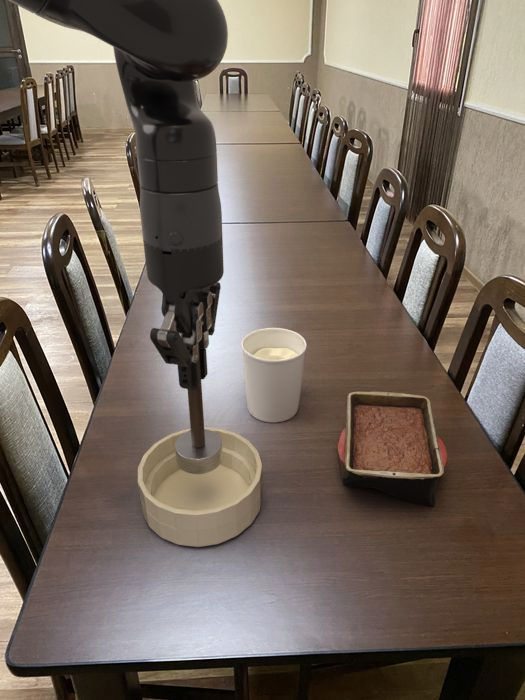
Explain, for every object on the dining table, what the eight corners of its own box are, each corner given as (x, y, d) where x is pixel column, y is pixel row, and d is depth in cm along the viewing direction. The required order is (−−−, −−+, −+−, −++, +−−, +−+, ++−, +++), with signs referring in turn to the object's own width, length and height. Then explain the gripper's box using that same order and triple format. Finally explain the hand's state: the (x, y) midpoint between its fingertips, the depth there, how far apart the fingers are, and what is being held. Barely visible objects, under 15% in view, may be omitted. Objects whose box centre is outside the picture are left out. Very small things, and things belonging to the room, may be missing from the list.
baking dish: (325, 510, 71) (335, 463, 64) (342, 413, 84) (352, 366, 78) (436, 536, 69) (458, 490, 62) (435, 432, 82) (453, 386, 76)
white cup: (237, 422, 83) (235, 357, 77) (248, 386, 92) (247, 325, 85) (300, 429, 82) (303, 363, 76) (305, 392, 90) (309, 330, 84)
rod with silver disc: (186, 480, 63) (176, 362, 54) (169, 452, 67) (157, 337, 58) (230, 464, 65) (226, 348, 56) (211, 438, 69) (204, 326, 61)
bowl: (167, 569, 61) (163, 534, 58) (128, 483, 72) (122, 450, 69) (283, 519, 67) (284, 484, 64) (229, 447, 79) (228, 414, 75)
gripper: (175, 208, 57) (186, 347, 66) (110, 252, 46) (134, 412, 55) (242, 214, 56) (244, 356, 65) (191, 262, 44) (202, 425, 53)
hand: (193, 381), depth 60 cm, fingers closed on rod with silver disc
